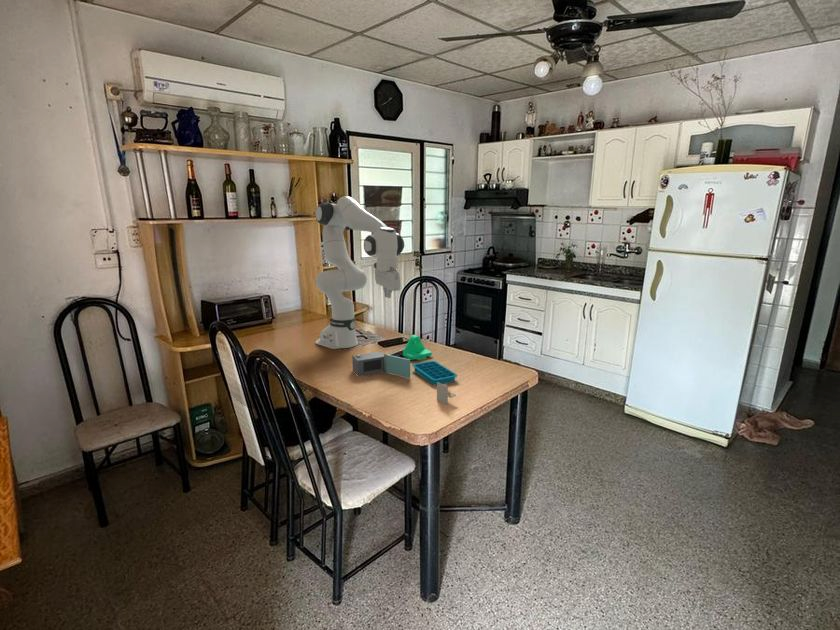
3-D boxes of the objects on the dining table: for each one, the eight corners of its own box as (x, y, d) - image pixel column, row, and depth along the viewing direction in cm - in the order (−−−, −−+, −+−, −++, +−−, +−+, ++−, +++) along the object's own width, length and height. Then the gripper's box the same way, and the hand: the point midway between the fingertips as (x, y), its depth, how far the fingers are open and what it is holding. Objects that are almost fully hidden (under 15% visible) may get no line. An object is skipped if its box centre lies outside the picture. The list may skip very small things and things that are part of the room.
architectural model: (442, 398, 165) (443, 379, 163) (456, 404, 160) (456, 385, 158) (436, 400, 163) (436, 382, 161) (449, 407, 158) (449, 387, 156)
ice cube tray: (434, 366, 197) (434, 360, 196) (458, 382, 180) (458, 375, 179) (411, 371, 192) (411, 364, 191) (433, 387, 175) (434, 380, 174)
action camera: (384, 365, 197) (383, 349, 195) (390, 370, 191) (390, 354, 189) (352, 370, 191) (352, 354, 189) (358, 376, 184) (357, 359, 183)
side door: (383, 372, 189) (383, 354, 187) (385, 371, 190) (385, 353, 188) (409, 378, 182) (409, 360, 180) (410, 377, 183) (410, 359, 181)
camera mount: (411, 362, 202) (411, 340, 200) (402, 357, 208) (402, 336, 206) (432, 357, 209) (432, 336, 206) (423, 353, 215) (423, 332, 212)
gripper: (404, 268, 180) (404, 301, 183) (385, 262, 198) (385, 292, 201) (390, 269, 177) (390, 302, 181) (372, 263, 195) (372, 293, 198)
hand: (387, 297), depth 191 cm, fingers closed
